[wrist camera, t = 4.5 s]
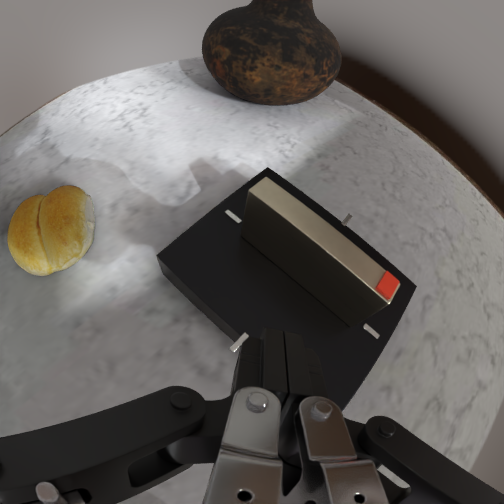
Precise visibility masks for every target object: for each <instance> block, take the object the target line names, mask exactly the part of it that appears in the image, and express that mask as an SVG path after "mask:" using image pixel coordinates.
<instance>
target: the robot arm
mask: <svg viewBox="0 0 504 504" xmlns="http://www.w3.org/2000/svg"><path fill="white" fill-rule="evenodd" d="M201 463H214V465H213V468H212V472H211V475H210V479H209V482H208V486H207V489H206V492H205V496H204V499H203V502H202V504H504V494H502V493H500V492H499V491H497V490H495V489H494V488H492V487H491V486H489V485H487V484H485V483H484V482H483V481H481V480H480V479H478V478H476V477H475V476H473V475H472V474H470V473H469V472H467V471H466V470H464V469H463V468H461V467H460V466H458V465H457V464H455V463H454V462H452V461H451V460H449V459H448V458H446V457H445V456H443V455H442V454H441V453H439V452H438V451H436V450H435V449H433V448H432V447H430V446H429V445H428V444H426V443H425V442H423V441H422V440H421V439H419V438H418V437H416V436H415V435H414V434H412V433H411V432H409V431H408V430H407V429H405V428H404V427H403V426H401V425H400V424H398V423H397V422H396V421H394V420H393V419H391V418H388V417H385V416H375V417H372V418H370V419H369V420H368V421H367V423H366V424H362V423H359V422H355V421H352V420H349V419H346V418H344V417H343V414H342V412H341V409H340V408H339V406H338V405H337V404H335V403H334V402H333V401H331V400H329V397H328V393H327V388H326V384H325V380H324V376H323V372H322V368H321V363H320V359H319V357H318V356H317V354H316V353H315V352H314V351H313V349H310V348H305V347H304V342H303V337H302V335H301V334H296V333H291V332H286V331H281V330H276V329H271V328H266V327H264V328H263V331H262V334H261V337H260V339H258V338H253V337H248V338H247V339H245V340H244V341H243V342H242V345H241V349H240V352H239V356H238V360H237V363H236V367H235V371H234V376H233V383H232V388H231V395H230V396H229V397H227V398H225V399H222V400H215V401H205V400H204V398H203V397H202V396H201V395H200V394H199V393H198V392H196V391H194V390H192V389H190V388H187V387H183V386H171V387H167V388H164V389H161V390H159V391H156V392H154V393H151V394H149V395H146V396H143V397H140V398H138V399H135V400H132V401H130V402H127V403H124V404H121V405H118V406H115V407H112V408H109V409H106V410H103V411H100V412H97V413H94V414H91V415H88V416H84V417H81V418H78V419H74V420H71V421H67V422H64V423H60V424H57V425H53V426H49V427H45V428H41V429H37V430H33V431H29V432H25V433H20V434H16V435H11V436H6V437H1V438H0V504H117V503H119V502H121V501H124V500H126V499H128V498H131V497H133V496H135V495H137V494H139V493H142V492H144V491H146V490H148V489H150V488H152V487H154V486H156V485H158V484H160V483H162V482H164V481H166V480H168V479H170V478H172V477H173V476H175V475H177V474H179V473H181V472H183V471H184V470H186V469H188V468H190V467H191V466H192V465H193V464H201ZM382 464H383V465H384V466H385V467H386V468H388V469H389V470H390V471H392V472H393V473H394V474H396V475H397V476H398V477H400V478H401V479H402V480H404V481H405V482H406V483H408V484H409V485H410V487H408V488H401V487H399V486H397V485H396V484H395V483H393V482H392V481H391V480H390V479H388V478H387V477H386V476H384V475H383V474H382V473H381V472H379V471H378V470H377V469H378V468H379V467H380V466H381V465H382Z"/></svg>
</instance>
